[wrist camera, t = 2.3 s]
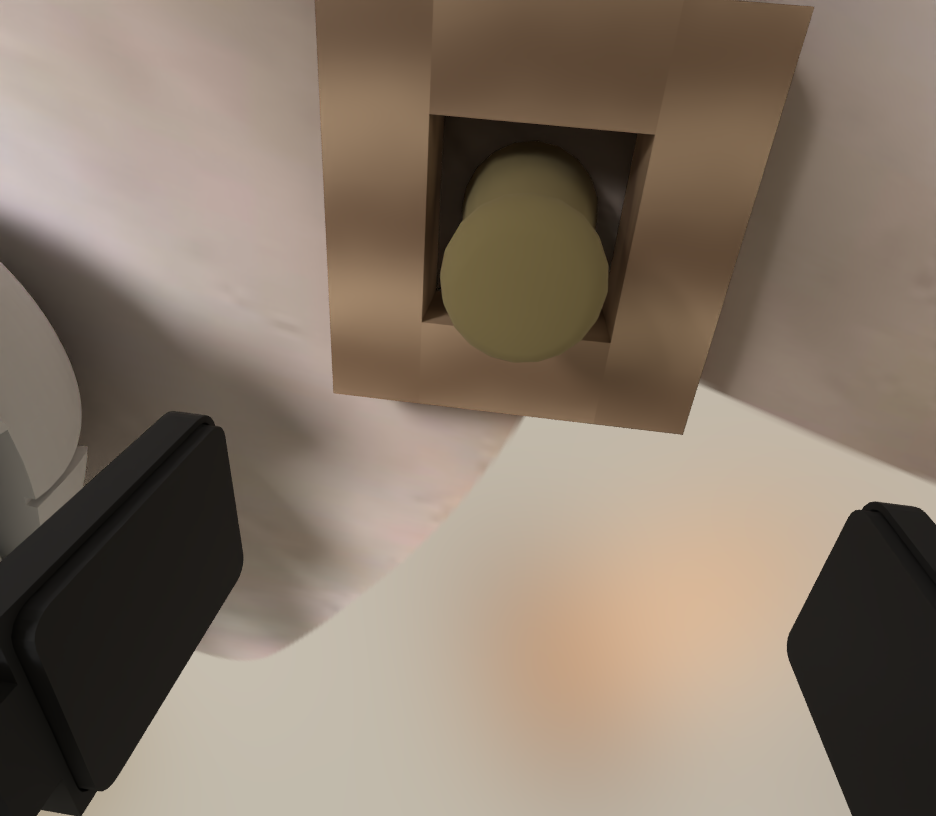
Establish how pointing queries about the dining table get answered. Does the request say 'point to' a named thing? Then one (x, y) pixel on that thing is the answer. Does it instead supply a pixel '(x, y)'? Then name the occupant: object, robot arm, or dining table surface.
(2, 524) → the decorative bowl
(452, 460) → the dining table surface
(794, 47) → the walnut holder
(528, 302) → the cork
